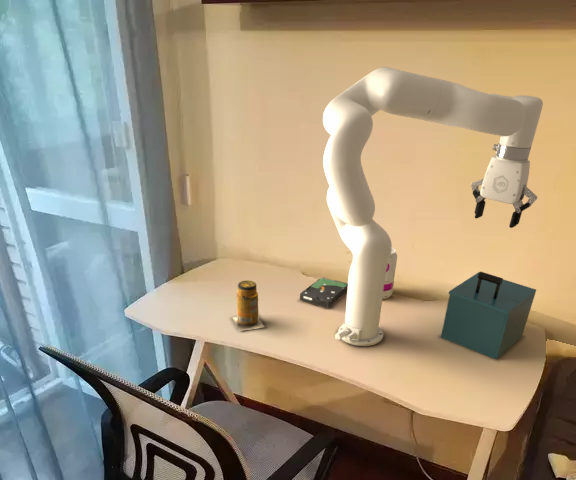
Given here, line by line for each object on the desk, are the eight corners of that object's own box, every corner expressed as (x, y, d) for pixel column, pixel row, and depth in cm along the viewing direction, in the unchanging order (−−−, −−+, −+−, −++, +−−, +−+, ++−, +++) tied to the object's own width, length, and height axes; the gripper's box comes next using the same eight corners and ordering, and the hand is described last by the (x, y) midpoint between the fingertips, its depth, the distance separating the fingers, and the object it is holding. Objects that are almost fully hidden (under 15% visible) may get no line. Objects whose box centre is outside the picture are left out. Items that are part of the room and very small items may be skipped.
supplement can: (385, 302, 170) (391, 257, 161) (361, 296, 173) (366, 251, 165) (395, 293, 175) (402, 248, 167) (372, 286, 179) (377, 243, 170)
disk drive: (328, 309, 166) (349, 291, 176) (329, 301, 164) (349, 283, 174) (299, 301, 170) (320, 283, 180) (299, 293, 168) (321, 275, 179)
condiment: (256, 314, 162) (255, 277, 155) (264, 327, 156) (264, 289, 149) (232, 318, 160) (230, 280, 153) (240, 331, 154) (238, 293, 147)
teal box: (496, 359, 144) (509, 313, 136) (440, 337, 153) (449, 293, 145) (522, 336, 154) (535, 292, 146) (468, 317, 163) (478, 274, 155)
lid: (508, 314, 135) (514, 290, 131) (448, 293, 144) (453, 270, 140) (535, 292, 146) (542, 269, 142) (478, 274, 155) (483, 252, 151)
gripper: (473, 148, 135) (458, 216, 145) (541, 162, 126) (520, 233, 136) (487, 144, 140) (471, 210, 150) (554, 157, 130) (532, 227, 140)
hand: (495, 221), depth 143 cm, fingers open, 9 cm apart
